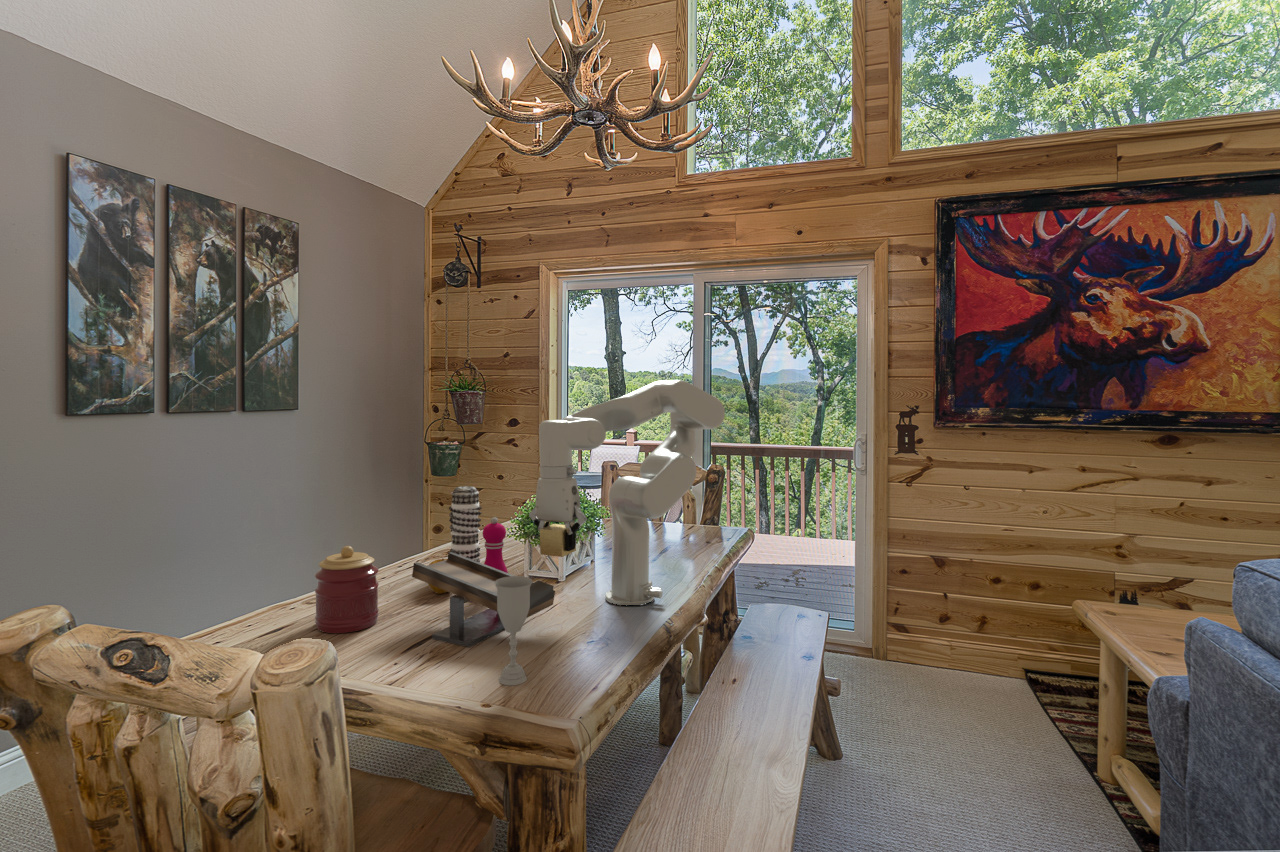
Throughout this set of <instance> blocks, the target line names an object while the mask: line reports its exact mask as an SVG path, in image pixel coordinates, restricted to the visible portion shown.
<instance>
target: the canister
mask: <svg viewBox="0 0 1280 852" xmlns="http://www.w3.org/2000/svg"><path fill="white" fill-rule="evenodd" d="M374 562H375V558H374V557H372V556H370V555H369V554H368V553H366V552H360V551H357V552H356V551H354V548H353V547H352V546H351V545H345V546H343V547H342V548H341V550H340V553H335V554H331V555H328V556H326V558H325V559H323V560H322V561H320V562H319V563H318V567H320V569H319V570H318V571H317V572H315V574H314V578H315V579H316V580H317V585H316V587H315V589H314V593H315V617H314V619H315V620H314V623H315V625H316V629H317V630H318V629H319V630H321V631H320V632H322V631H323V632H322V633H325V632H326V634H345V633H347V632H348V633H353V631H354V632H358V631H363V630H364V629H368V628H370V627H372V626H374V625H375V624H376V623H378V618H379V616H380V615H379V612H380V610H379V598H378V597H379V595H378V593H379V590H378V589H379V582H378V581H377V574H378V573H379V571H380V570H379V568H378V566H375V565H374ZM319 630H318V631H319ZM348 633H347V634H348Z"/></svg>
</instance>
